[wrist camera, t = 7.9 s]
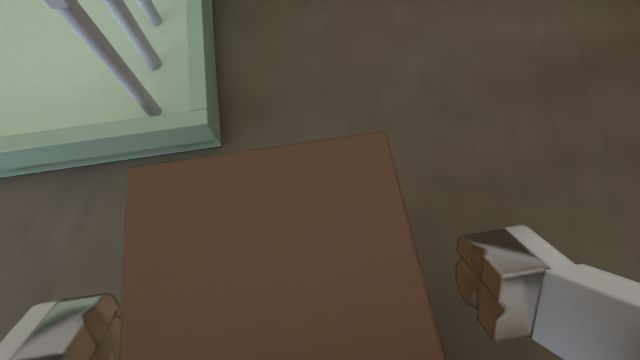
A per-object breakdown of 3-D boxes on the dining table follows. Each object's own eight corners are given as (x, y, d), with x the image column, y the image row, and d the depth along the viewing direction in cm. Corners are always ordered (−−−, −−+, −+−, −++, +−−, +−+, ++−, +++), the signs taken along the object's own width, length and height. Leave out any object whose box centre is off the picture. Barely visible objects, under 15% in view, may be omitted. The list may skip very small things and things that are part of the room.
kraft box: (250, 374, 14) (109, 501, 5) (240, 253, 16) (124, 166, 6) (369, 352, 14) (465, 431, 5) (347, 236, 16) (386, 128, 7)
